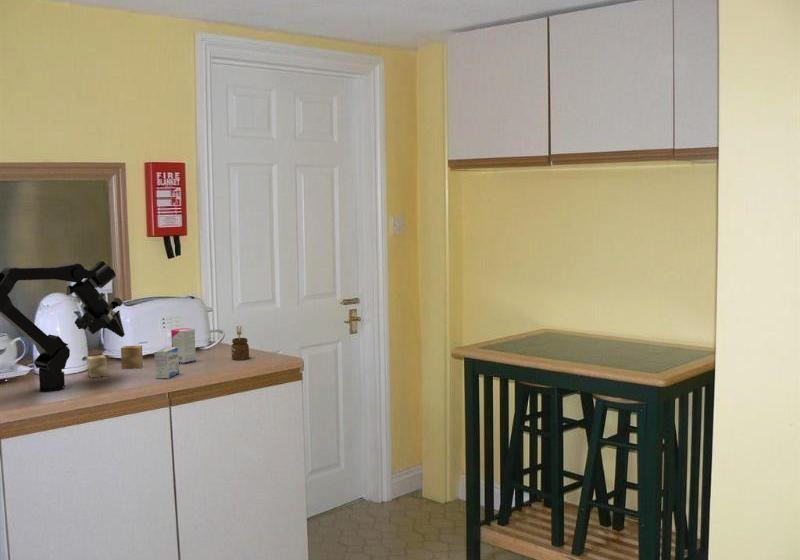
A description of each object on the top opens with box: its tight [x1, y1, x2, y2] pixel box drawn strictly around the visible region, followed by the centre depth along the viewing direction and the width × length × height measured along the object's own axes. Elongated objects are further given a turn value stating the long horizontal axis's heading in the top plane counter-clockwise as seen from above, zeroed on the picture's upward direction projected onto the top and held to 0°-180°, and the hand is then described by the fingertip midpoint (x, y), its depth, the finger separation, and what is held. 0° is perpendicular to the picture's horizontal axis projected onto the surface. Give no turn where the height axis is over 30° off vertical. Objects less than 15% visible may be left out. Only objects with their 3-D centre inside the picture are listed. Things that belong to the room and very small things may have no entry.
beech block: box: [86, 354, 108, 379], centre depth 277 cm, size 5×5×6 cm
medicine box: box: [154, 346, 180, 379], centre depth 274 cm, size 8×4×9 cm, turn 169°
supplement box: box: [170, 327, 197, 365], centre depth 296 cm, size 6×6×12 cm
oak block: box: [120, 345, 144, 370], centre depth 289 cm, size 6×4×7 cm, turn 94°
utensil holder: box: [231, 325, 250, 361], centre depth 300 cm, size 6×6×12 cm
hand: (123, 336), depth 271 cm, fingers closed
